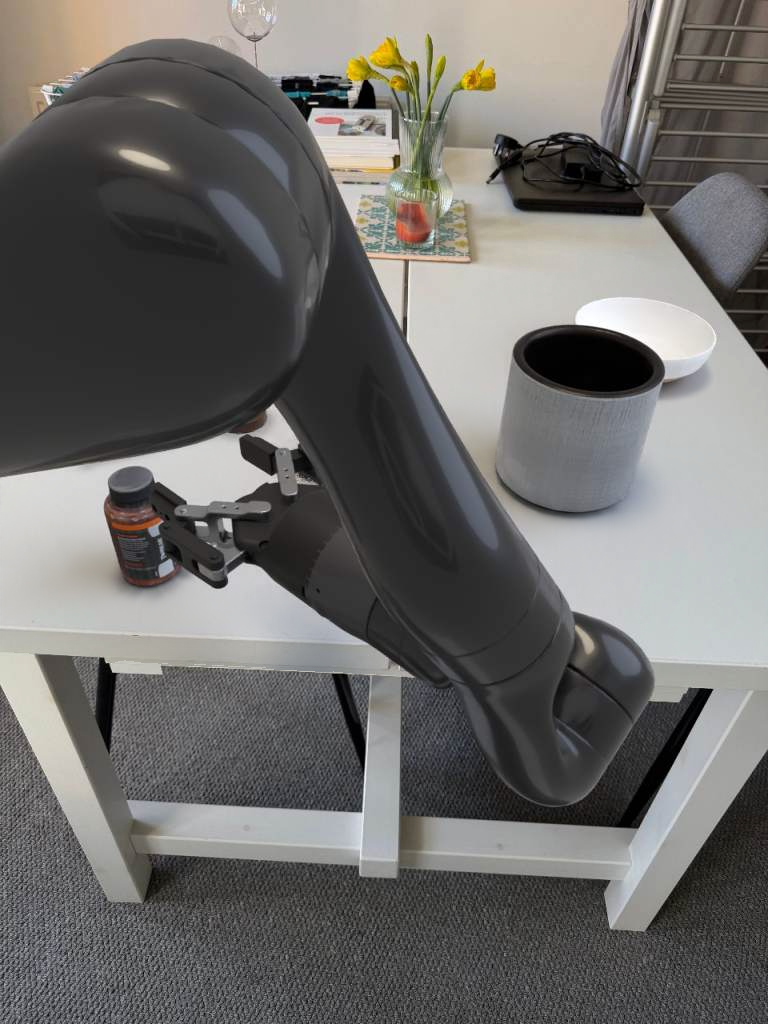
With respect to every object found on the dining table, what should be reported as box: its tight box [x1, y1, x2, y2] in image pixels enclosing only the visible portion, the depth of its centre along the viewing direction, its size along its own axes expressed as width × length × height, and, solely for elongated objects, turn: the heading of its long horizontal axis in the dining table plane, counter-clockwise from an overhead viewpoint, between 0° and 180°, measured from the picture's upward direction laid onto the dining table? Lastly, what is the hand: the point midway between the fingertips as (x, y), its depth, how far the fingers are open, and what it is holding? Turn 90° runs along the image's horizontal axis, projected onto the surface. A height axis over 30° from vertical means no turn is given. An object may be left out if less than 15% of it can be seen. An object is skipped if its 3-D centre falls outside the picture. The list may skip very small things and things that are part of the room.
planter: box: [495, 324, 665, 513], centre depth 81 cm, size 16×16×16 cm
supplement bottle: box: [103, 465, 181, 587], centre depth 70 cm, size 6×6×11 cm
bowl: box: [573, 296, 717, 383], centre depth 105 cm, size 20×20×6 cm
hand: (200, 468), depth 57 cm, fingers open, 8 cm apart
